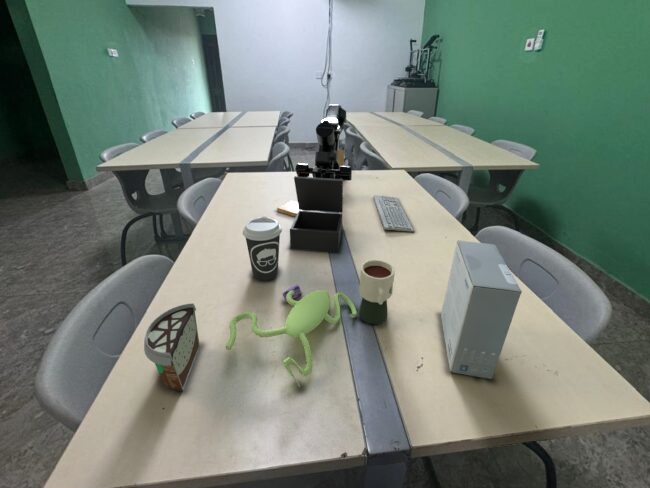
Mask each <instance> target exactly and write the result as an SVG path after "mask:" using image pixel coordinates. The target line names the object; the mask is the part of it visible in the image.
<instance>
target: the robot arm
mask: <svg viewBox="0 0 650 488" xmlns="http://www.w3.org/2000/svg"><path fill="white" fill-rule="evenodd" d="M346 123H347V110H345V109H344V108H342V105H340V104H329V105H328V108H327V109H326V110H325V118H324V119H322V120H321V121H320V123H319V124H317V126H315V134H316V140H317V143H318V150H317V151H315V156H314V166H313V167H310V166H309V164H308V163H302V162H300V163H299V162H298V163H297V164H296V165H295V173H296V176H297V177H310V174H311V175H312V177H313V178H329V179H343V181H352V177H353V168H352V166H351V165H345V166H340V168H339V164H338V162H337V157H338V150H339V146H340V136H341V134H342V131H343V130H344V128H345V124H346Z"/></svg>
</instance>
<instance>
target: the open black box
mask: <svg viewBox="0 0 650 488" xmlns="http://www.w3.org/2000/svg"><path fill="white" fill-rule="evenodd" d="M343 214H344V213H339V212H325V211H311V210H307V211H304V210H299V212H298V214H297V216H296V217H294V220H293V221H292V223H291V226H290V228H289V247H290V250H302V251H315V252H326V253H337V254H338V253H339V249H340V245H341V244H340V243H341V238H342V232H343Z"/></svg>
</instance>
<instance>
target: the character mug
mask: <svg viewBox="0 0 650 488" xmlns="http://www.w3.org/2000/svg"><path fill="white" fill-rule="evenodd" d="M395 273H396V269H395V267H394V266H393V265H392V264H390V262H388V261H385V260H382V259H369V260H367V261H364V262H363V263H362V264H361V266H360V275H359V276H360V277H359V288H358V292H359V295H360V296H361V301H360V305H359V310H358V311H359V312H358V313H359V315H358V316H359V318H360V319H361V320H362V321H363V322H365V323H368V324H370V325H371V324H372V325H382V324H383V323H385V322H386V321H387V319H388V300H389V299H390V298H391V297H392V295H393V289H394V282H395V275H396V274H395Z"/></svg>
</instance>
